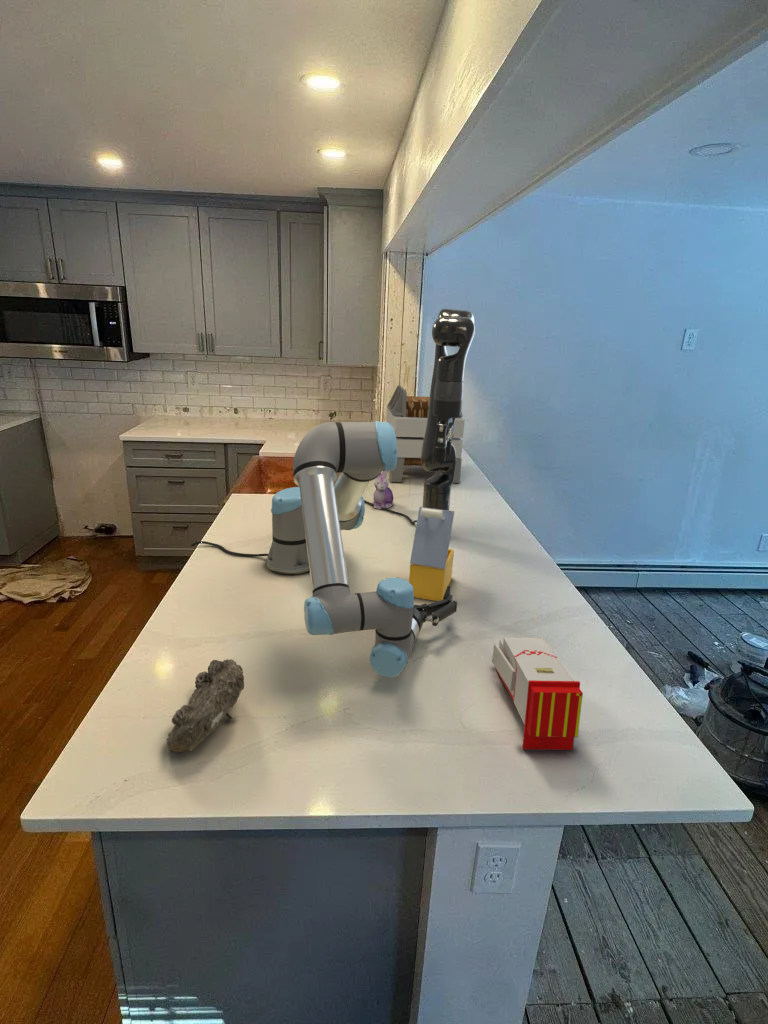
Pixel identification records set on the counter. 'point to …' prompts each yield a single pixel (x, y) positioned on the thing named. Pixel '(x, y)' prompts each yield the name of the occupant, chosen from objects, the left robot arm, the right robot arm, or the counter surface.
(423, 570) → the chest
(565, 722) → the toy
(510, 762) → the counter surface
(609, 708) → the counter surface
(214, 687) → the fossil
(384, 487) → the figurine
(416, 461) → the grey slatted crate
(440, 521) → the lid
